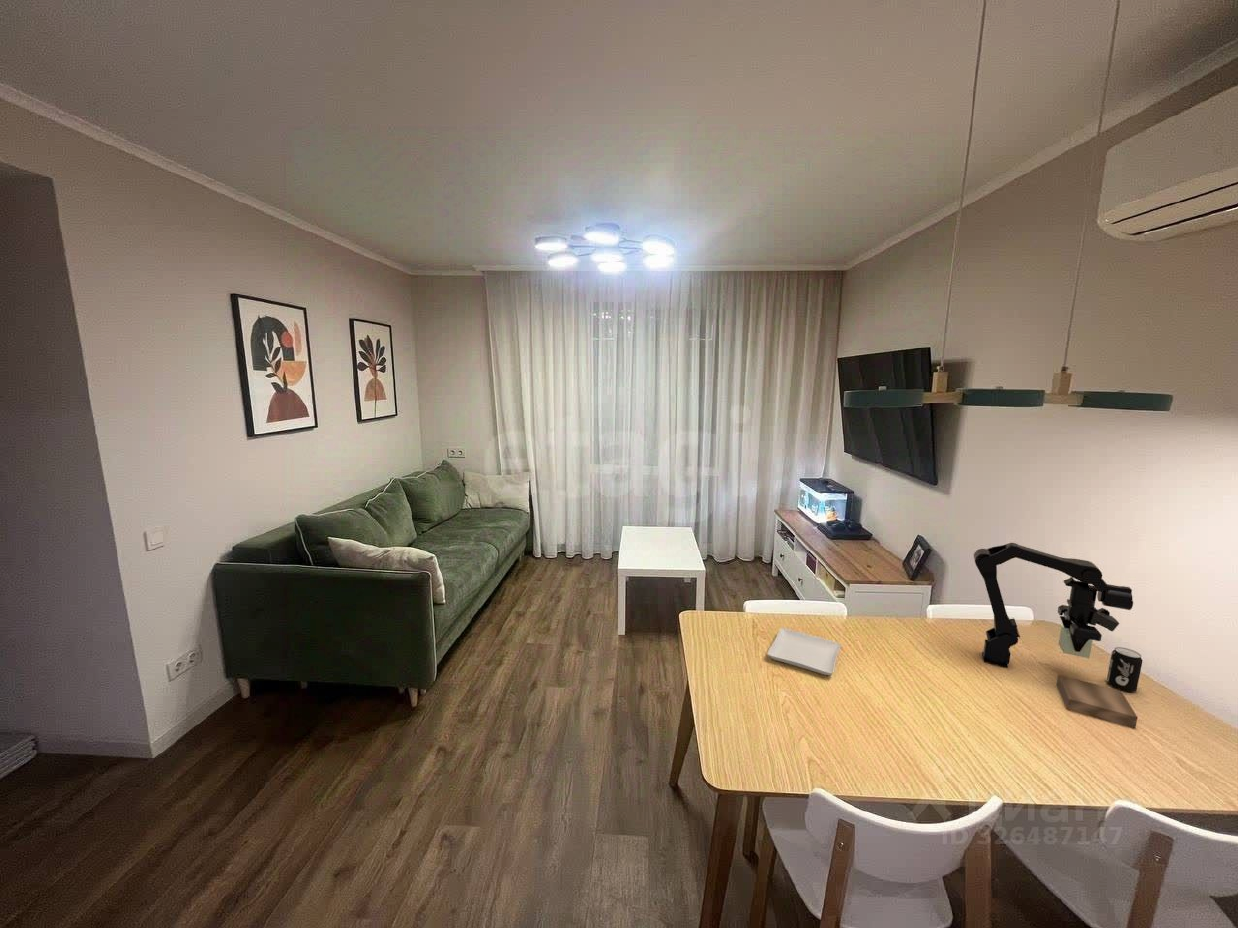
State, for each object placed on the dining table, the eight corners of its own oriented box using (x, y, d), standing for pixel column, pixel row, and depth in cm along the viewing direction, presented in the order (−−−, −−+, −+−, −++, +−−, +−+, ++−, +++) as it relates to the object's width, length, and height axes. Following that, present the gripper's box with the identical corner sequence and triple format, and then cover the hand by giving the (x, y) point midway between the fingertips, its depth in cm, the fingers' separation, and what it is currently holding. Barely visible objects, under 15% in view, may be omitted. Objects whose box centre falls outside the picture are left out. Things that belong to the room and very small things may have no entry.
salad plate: (832, 682, 150) (833, 672, 150) (765, 662, 161) (766, 653, 161) (840, 651, 168) (841, 642, 168) (780, 634, 179) (780, 626, 179)
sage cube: (1063, 652, 149) (1066, 635, 148) (1058, 644, 154) (1061, 627, 153) (1089, 658, 146) (1092, 640, 145) (1083, 649, 151) (1086, 632, 150)
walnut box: (1066, 710, 137) (1069, 698, 137) (1056, 685, 149) (1058, 674, 148) (1134, 730, 130) (1137, 717, 129) (1118, 702, 141) (1120, 690, 141)
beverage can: (1142, 694, 144) (1149, 658, 142) (1117, 691, 145) (1124, 656, 143) (1124, 681, 150) (1131, 647, 148) (1100, 678, 152) (1106, 645, 150)
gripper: (1130, 620, 135) (1120, 669, 138) (1107, 595, 151) (1098, 640, 153) (1077, 610, 141) (1069, 658, 143) (1060, 588, 156) (1053, 631, 159)
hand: (1074, 646), depth 150 cm, fingers closed on sage cube, 6 cm apart
